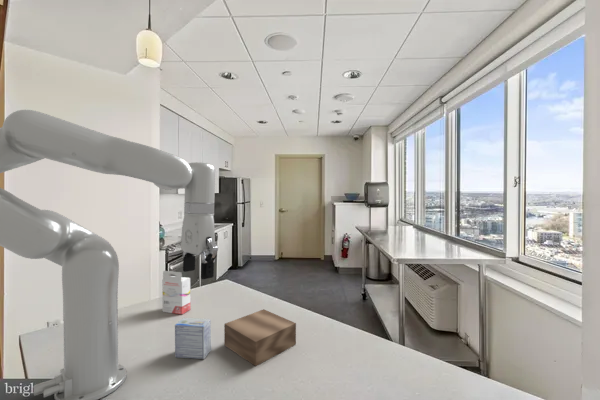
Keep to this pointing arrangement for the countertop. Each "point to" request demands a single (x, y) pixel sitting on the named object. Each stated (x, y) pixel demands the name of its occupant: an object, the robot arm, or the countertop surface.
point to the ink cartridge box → (175, 293)
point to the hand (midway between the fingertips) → (197, 274)
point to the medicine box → (192, 338)
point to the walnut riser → (259, 336)
